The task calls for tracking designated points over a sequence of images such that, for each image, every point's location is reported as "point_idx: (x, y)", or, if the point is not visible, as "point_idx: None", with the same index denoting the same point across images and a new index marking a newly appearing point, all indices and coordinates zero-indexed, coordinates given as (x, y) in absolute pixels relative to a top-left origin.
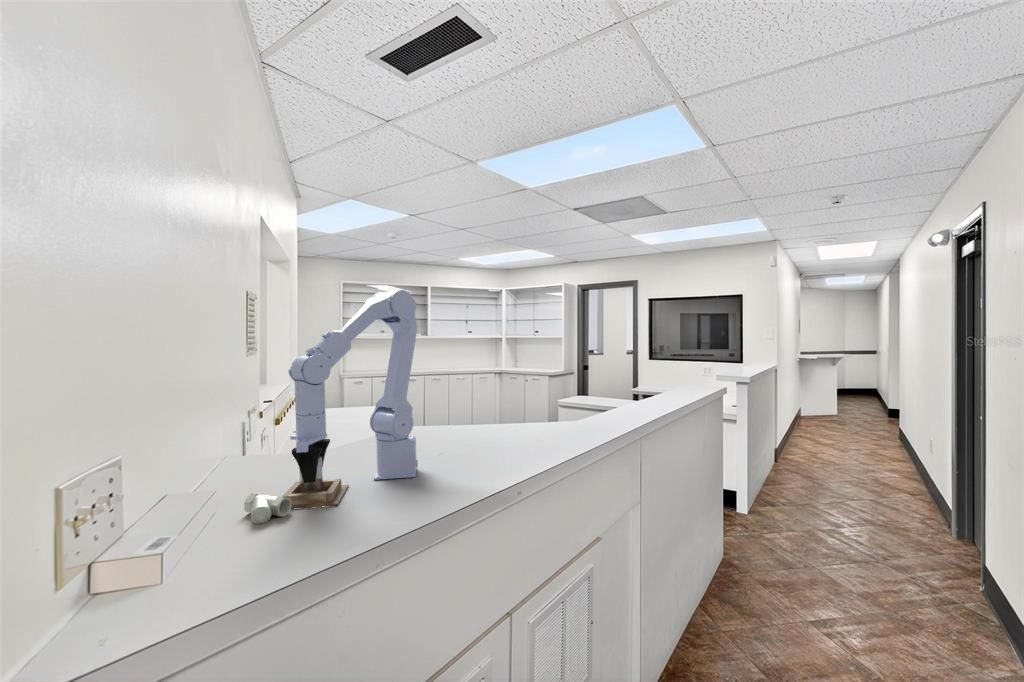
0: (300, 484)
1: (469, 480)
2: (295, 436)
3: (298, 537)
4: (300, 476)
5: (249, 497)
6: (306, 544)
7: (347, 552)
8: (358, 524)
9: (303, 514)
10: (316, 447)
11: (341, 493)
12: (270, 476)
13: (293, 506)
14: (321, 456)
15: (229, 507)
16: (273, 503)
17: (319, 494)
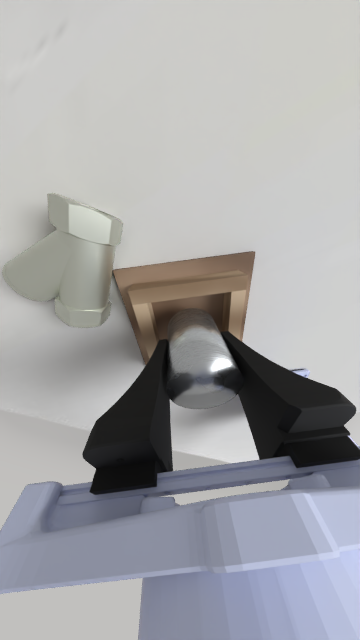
0: (175, 321)
1: (218, 439)
2: (201, 570)
3: (24, 358)
4: (175, 334)
5: (58, 207)
6: (10, 373)
7: (17, 408)
8: (88, 398)
9: (107, 333)
10: (259, 423)
11: None
12: None
13: (129, 309)
14: (240, 395)
15: (126, 73)
16: (57, 303)
17: (148, 354)
